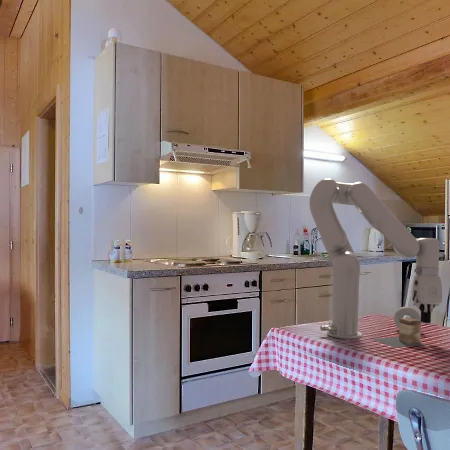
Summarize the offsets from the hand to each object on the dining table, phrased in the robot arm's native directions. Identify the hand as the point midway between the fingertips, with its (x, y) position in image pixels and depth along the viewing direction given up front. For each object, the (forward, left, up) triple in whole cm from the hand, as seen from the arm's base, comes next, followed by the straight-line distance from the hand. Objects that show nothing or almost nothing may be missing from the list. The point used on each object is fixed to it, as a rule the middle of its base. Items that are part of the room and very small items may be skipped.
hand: (425, 322), depth 163 cm
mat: (-11, +1, -7) cm, 13 cm away
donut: (+5, +15, -7) cm, 17 cm away
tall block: (-7, 0, -7) cm, 10 cm away
